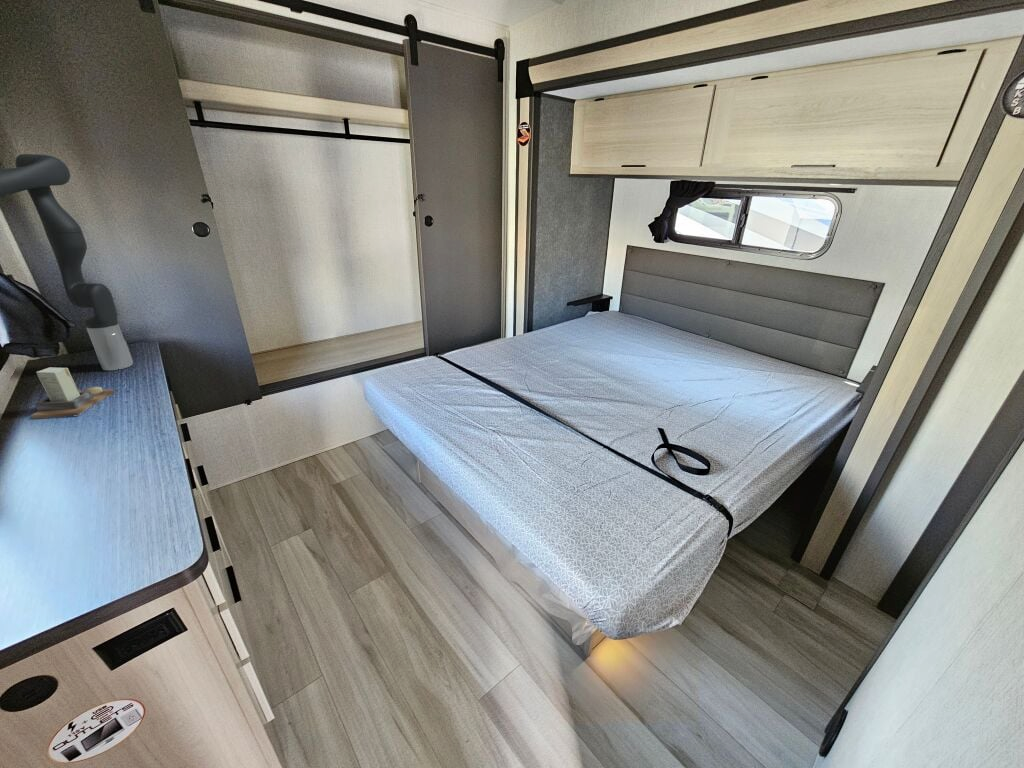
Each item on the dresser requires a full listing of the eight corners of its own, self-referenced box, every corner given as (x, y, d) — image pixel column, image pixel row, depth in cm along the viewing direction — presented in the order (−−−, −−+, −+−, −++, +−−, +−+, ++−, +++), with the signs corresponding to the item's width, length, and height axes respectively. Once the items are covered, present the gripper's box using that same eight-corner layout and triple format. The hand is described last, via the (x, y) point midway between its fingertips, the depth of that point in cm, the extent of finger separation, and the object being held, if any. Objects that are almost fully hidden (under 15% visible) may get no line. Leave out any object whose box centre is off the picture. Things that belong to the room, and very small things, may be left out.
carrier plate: (74, 393, 144) (70, 384, 143) (114, 392, 147) (111, 382, 145) (32, 418, 128) (26, 408, 127) (78, 416, 131) (73, 405, 129)
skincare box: (84, 401, 137) (69, 367, 132) (70, 407, 133) (55, 372, 128) (65, 400, 137) (50, 366, 132) (51, 406, 133) (35, 371, 128)
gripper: (-16, 254, 126) (8, 307, 133) (-64, 261, 114) (-35, 318, 120) (14, 254, 128) (36, 306, 134) (-30, 261, 115) (-3, 318, 122)
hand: (3, 312), depth 127 cm, fingers open, 8 cm apart
